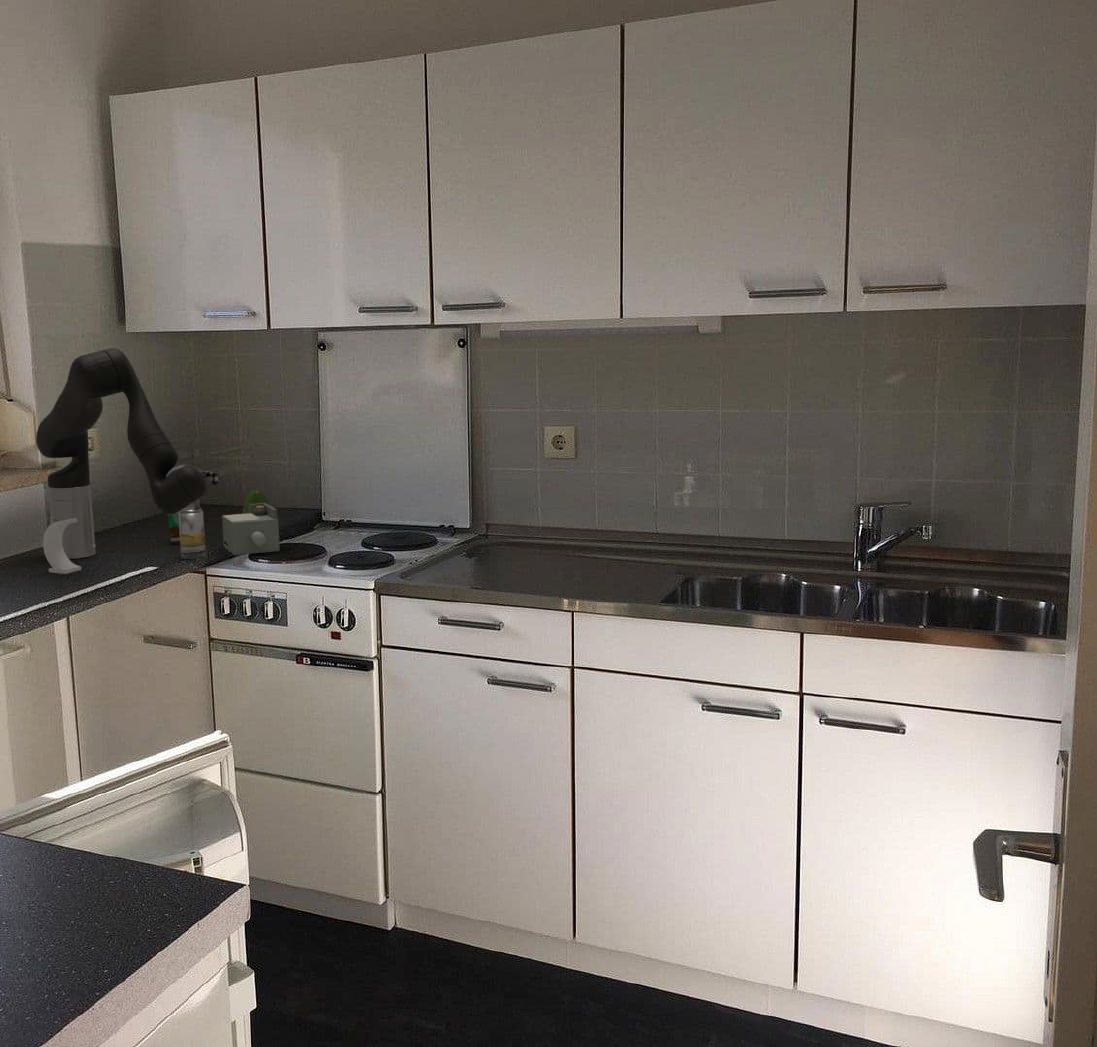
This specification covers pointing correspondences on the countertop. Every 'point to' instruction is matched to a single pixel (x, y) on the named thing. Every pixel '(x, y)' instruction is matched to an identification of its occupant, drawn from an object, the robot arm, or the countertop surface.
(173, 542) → the food container
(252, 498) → the avocado
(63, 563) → the headphone stand
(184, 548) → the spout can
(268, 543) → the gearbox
